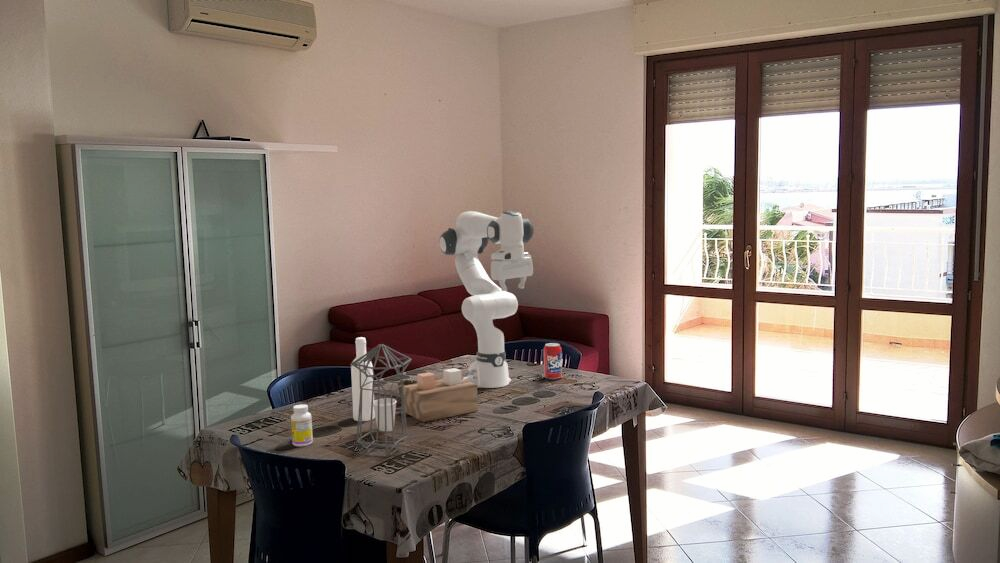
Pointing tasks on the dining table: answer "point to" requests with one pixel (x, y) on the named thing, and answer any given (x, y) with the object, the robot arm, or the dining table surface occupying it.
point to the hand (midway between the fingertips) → (512, 289)
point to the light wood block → (440, 400)
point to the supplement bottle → (301, 426)
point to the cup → (406, 384)
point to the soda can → (552, 361)
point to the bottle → (356, 384)
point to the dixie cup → (382, 413)
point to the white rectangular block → (452, 376)
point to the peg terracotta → (426, 381)
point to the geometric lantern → (356, 364)
